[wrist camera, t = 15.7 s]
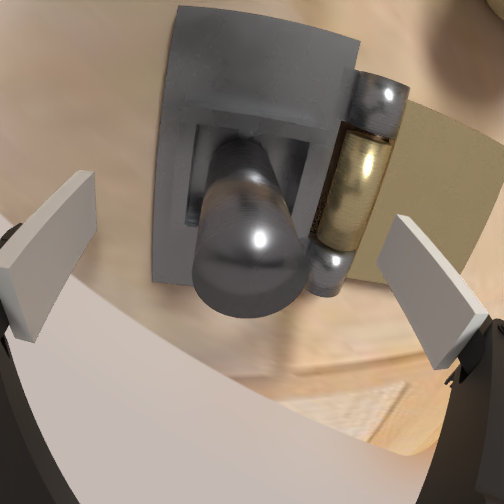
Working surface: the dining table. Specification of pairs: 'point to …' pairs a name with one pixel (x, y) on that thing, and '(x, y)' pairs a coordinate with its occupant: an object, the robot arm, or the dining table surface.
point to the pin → (246, 237)
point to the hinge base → (259, 124)
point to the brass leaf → (412, 189)
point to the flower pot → (497, 7)
